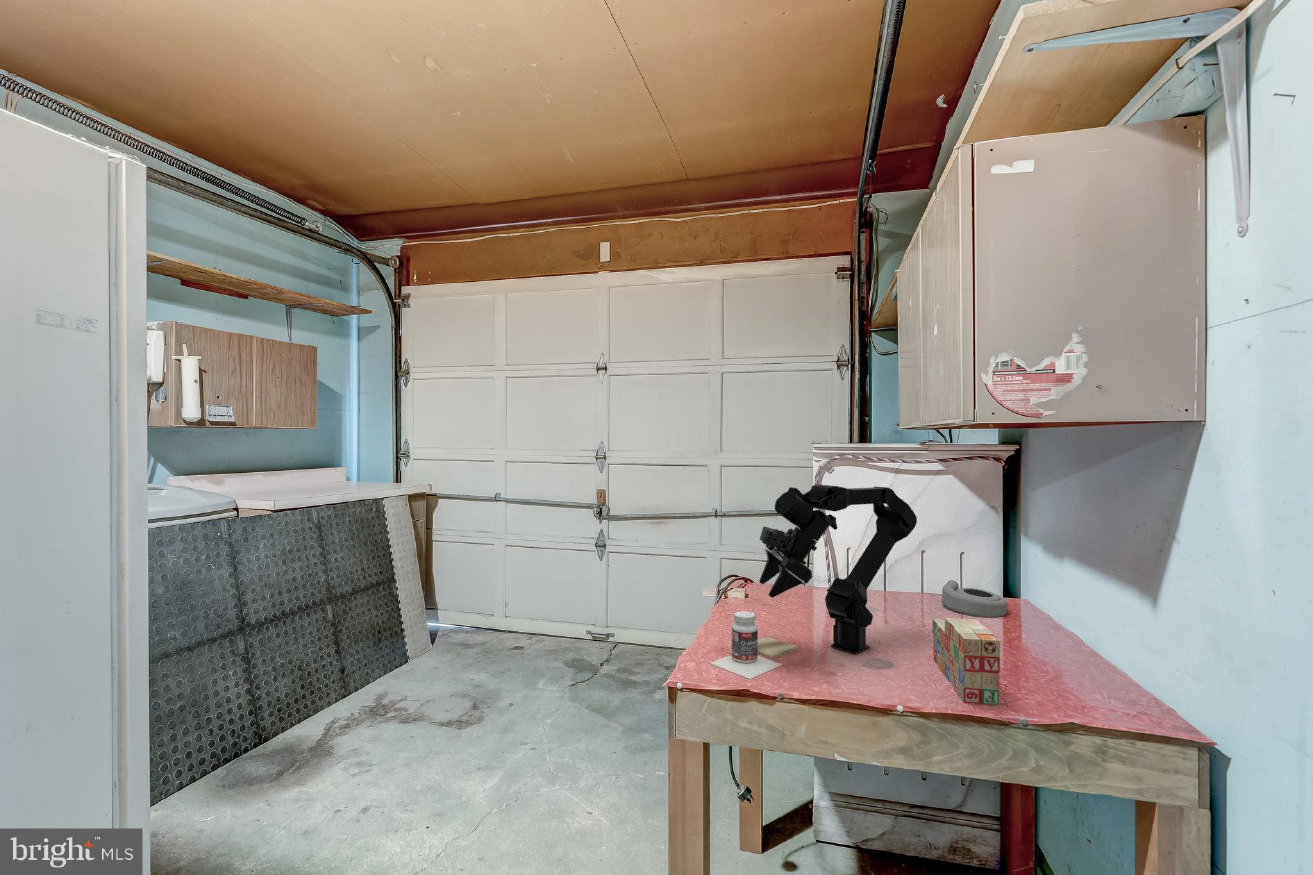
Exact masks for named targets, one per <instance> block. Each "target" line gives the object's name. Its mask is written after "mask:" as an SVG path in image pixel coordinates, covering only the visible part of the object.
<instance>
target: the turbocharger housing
mask: <svg viewBox="0 0 1313 875" xmlns="http://www.w3.org/2000/svg"><path fill="white" fill-rule="evenodd" d="M959 585H960V584H959V583H958V581H956V580H953V579H950V580H948V581H947V582H946V583H945V584H944V585H943V586H942V591H941V592H942V593H941V603H942V605H943V606H944V607H946V608H947V609H948V610H950V611H953V612H955V611H956V613H958V612H959V613H958V614H962V613H963V615H966V614H967V615H966V616H971V615H972V617H977V616H978V617H979V618H999V617H1000V616H1001V617H1003V616H1006V615H1007V612H1008V605H1009V602H1008V600H1007V599H1006V598H1005V597H1004V596H1001V595H998V594H997V593H995V592H992V591H988V590H985V589H981V588H975V587H960V586H959Z"/></svg>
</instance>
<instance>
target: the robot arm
mask: <svg viewBox="0 0 1313 875" xmlns="http://www.w3.org/2000/svg"><path fill="white" fill-rule="evenodd" d="M855 505H857V506H859V505H872V506H873V508H872V510H873V513H874V515H875V516H876V520H875V527H876V532H875V533H874V535H873V537H872V538H871V539H870V541H869V543H868V545H867V546H866V547H865V550H864V551H863V552H862V554H861V556H860V557H859V559H858V560H857V562H856V564H855V565H854V566H853V568H852V570H850V572H849V574H848V575H847V577H846V578H844V579H843V578H839V577H836V578H834V580H833V581H832V584H831V585H830V587H829V588H828V589H826V592H827V593H826V595H825V597H824V602H825V607H826V609H827V613H828V616H829V618H830V619H834V624H833V626H832V632H833V634H832V637H833V638H832V639H833V640H832V641H833V643H831V645H830V647H831V648H834V649H837V650H841V651H844V652H847V653H850V654H855V655H857V654H859V653H862V652H863V651H865V650H867V649H870V645H869V644H867V639H866V638H867V628H868V626H871V625H872V622H873V618H874V615H873V614H872V613H871V611H870V610H869V609H868V608H867V606H866V605H867V604H868V588H869V587H870V585H871V583H872V582H873V580H874V578H875V577H876V575H877V574H878V572H879V570H880V569H881V567H882V566H883V564H884V563H885V560H886V559H887V557H888V556H889V555H890V553H891V550H893V548H894V546H895V544H896V543H898V542H900V541H902V540H903V539H906V538H907V537H909V535H910V534H911V533H912V532H913V530H914V529H915V528H916V526H917V523H918V517H917V515H916V513H915V512H914V510H913V509H912V507H911V506H910V504H908V502H906V501H904V499H902V498H901V497H899V496H898V495H897V494H896V493H895V491H894V490H893V489H892V488H890V487H887V486H886V487H885V486H876V485H875V486H873V487H854V488H853V487H852V488H851V487H850V488H849V487H847V488H846V487H844V486H843V487H842V486H837V485H828V484H819V483H818V484H814V485H812V486H811V488H810V489H809V491H807V492H805V493H802V492H801V491H800V490H799V488H797V487H791V486H790V487H789V488H788V490H787V491H785V492H783V493H782V494H781V495H780V496H779V497H778V498H776V501H775V504H774V510H775V512H776V513H777V514H779V515H780V516H781V517H782V518H783V519H785V520H786V521H788V522H790V523H791V525H794V526H795V527H794V529H793V528H789V529H787V531H784V530H779V529H778V528H772V527H768V526H763V527H762V530H761V533H760V537H759V541H761V543H763V544H764V545H765V546H764V547H765V553H766V561H765V565H764V567H763V570H762V572H761V575H760V579H759V581H758V583H760V584H761V585H764V584H766V583H767V582H769V581H770V580H771V579H773V578H774V577H776V576H777V575H778V576H777V578H776V580H775V581H774V583H773V585H771V586H772V587H771V589H770V590H769V592H768V594H767V595H768V596H769V597H770V598H772V599H773V598H776V597H777V596H779V595H781V594H783V593H785V592H787V591H789V590H791V589H793V588H795V587H798V586H800V585H804V584H808V583H809V582H810V580H811V579H812V578H813V572H812V570H811V569H810V568H809V566H807V565H806V564H807V562H806V561H805V560H806V558H807V557H808V555H809V554H810V553H811V551H813V552H816V550H817V549H818V547H817V546H816V545H817V543H818V542H819V541H820V539H821V538H822V537H823V535H824V534H825V533H826V532H827V530H828V528H832V529H833V530H837V529H838V524H837V517H836V516H834V515H833V514H826V513H825V512H824V511H829V512H830V511H831V512H839V511H843V510H846V509H847V508H848V507H850V506H855ZM822 510H823V511H822Z"/></svg>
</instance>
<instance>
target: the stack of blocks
mask: <svg viewBox="0 0 1313 875" xmlns="http://www.w3.org/2000/svg"><path fill="white" fill-rule="evenodd" d="M932 646H933V649H932V650H933V651H932V652H933V654H932V655H933V661H934V662H935V664H936V666H937V667H938V669H939V670H940V671H941V673H942V675H943V676H944V677H945V678H946V679H948V680H947V681H948V683H949V684H950V683H951V685H950V686H951V687H953V690H954V692H955V693H956V692H957V693H956V694H957V696H958V697H959V698H961V699H960V700H961V701H962V703H963V702H964V703H963V704H972V703H976V704H975V705H985V704H993V705H992V706H996V705H999V706H1000V698H1001V696H1000V694H1001V690H1000V673H1001V640H1000V639H998V637H996V636H995V635H994V632H992V631H991V630H990V629H988V628H986V626H984V625H983V624H982V623H981V622H979V620H977V619H973V618H951V617H950V618H949V617H945V618H944V619H941V618H940V619H937V618H936V619H935V618H934V619H932ZM977 703H978V704H977Z"/></svg>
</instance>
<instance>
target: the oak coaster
mask: <svg viewBox="0 0 1313 875" xmlns="http://www.w3.org/2000/svg"><path fill="white" fill-rule="evenodd" d="M795 650H797V645H793V644H790V643H787V642H784V641H782V640H778V639H776V638H775V639H774V638H771V637H768V636H762V637H761V638H758V655H761V656H764V657H767V658H771V659H777V658H778V657H781V656H783V655H785V654H787V653H790V652H793V651H795Z"/></svg>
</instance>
